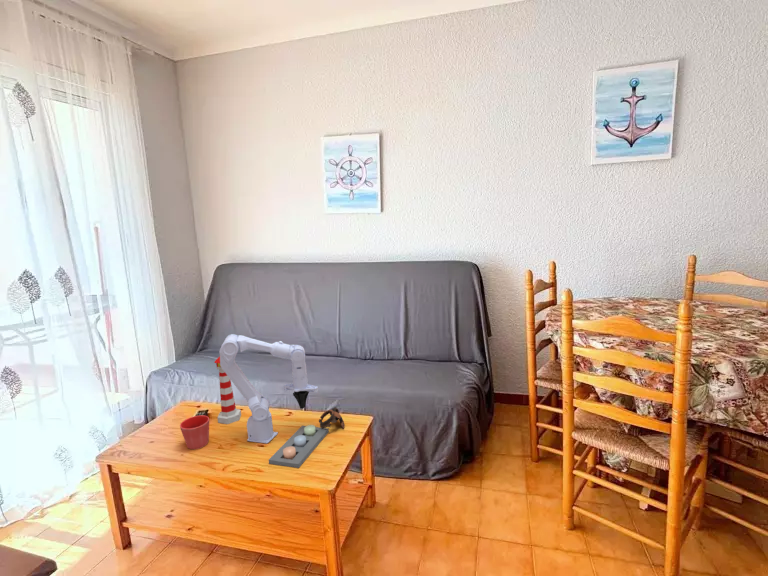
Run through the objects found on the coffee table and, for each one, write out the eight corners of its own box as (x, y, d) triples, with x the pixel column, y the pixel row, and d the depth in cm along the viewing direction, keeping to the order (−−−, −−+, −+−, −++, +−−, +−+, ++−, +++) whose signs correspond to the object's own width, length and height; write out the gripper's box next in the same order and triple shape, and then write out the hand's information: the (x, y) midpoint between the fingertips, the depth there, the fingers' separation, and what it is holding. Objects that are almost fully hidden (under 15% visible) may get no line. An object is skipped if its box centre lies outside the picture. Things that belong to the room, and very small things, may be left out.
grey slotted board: (268, 463, 149) (268, 459, 148) (302, 428, 172) (302, 425, 172) (298, 468, 145) (298, 464, 145) (328, 431, 168) (328, 428, 168)
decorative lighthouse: (245, 415, 187) (238, 351, 182) (232, 425, 179) (223, 358, 174) (227, 412, 191) (219, 350, 185) (213, 422, 182) (204, 356, 177)
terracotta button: (281, 460, 150) (280, 452, 149) (287, 453, 154) (286, 445, 153) (292, 461, 148) (291, 453, 148) (298, 455, 152) (297, 447, 152)
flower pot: (180, 454, 158) (176, 430, 157) (186, 439, 169) (183, 417, 167) (209, 449, 161) (206, 426, 159) (214, 435, 171) (211, 413, 169)
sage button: (302, 437, 165) (302, 429, 164) (308, 431, 169) (307, 424, 168) (312, 438, 163) (312, 431, 163) (317, 432, 167) (317, 425, 167)
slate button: (292, 448, 157) (291, 440, 157) (298, 442, 161) (297, 434, 161) (303, 449, 156) (302, 441, 155) (308, 443, 160) (307, 435, 159)
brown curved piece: (344, 433, 167) (333, 419, 165) (325, 441, 170) (314, 428, 167) (348, 413, 178) (338, 399, 175) (330, 421, 181) (319, 407, 178)
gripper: (278, 378, 164) (281, 410, 167) (311, 380, 160) (314, 413, 162) (287, 371, 171) (290, 402, 173) (319, 374, 167) (322, 405, 169)
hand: (302, 407), depth 168 cm, fingers closed
